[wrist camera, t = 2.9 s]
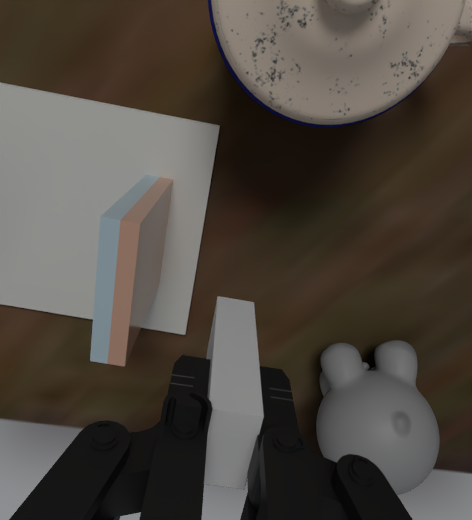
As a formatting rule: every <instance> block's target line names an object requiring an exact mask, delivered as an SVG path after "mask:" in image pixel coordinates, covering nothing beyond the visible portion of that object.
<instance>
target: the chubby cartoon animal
mask: <svg viewBox="0 0 472 520" xmlns="http://www.w3.org/2000/svg"><path fill="white" fill-rule="evenodd" d="M374 359H375V364H376V366H374V367H372V368H371V369H369V368H370V366H369V364H367V363H366V362H362V360H361V356H360V354H359V352H358V350H357V349H356V348H355V347H354V346H352V345H350V344H347V343H335V344H332V345H330V346H329V347H327V348H326V349H325V350H324V351H323V352H322V354H321V359H320V360H321V366H322V370H323V371H322V372H321V374H320V378H319V381H320V388H321V391H322V394H323V396H324V398H323V400H322V402H321V404H320V407H319V410H318V414H317V421H316V431H317V439H318V443H319V447H320V449H321V452H322V454H323V456H324V457H325V458H327V459H330V460H332V461H334V462H337V461H338V460H339V459H340V458H341V457H342V456H344V455H348V454H354V455H360V456H362V457H365V458H367V459H369V460H370V461H371V462H373V463H374V464H376V465H377V467H378V468H379V469H380V470H381V471H382V472H383V474H384V476H385V477H386V479H387V480H388V482H389V483H390V485H391V487H392V488H393V490H394V491H395V493H396V495H400V494H403V493H406V492H408V491H410V490H412V489H414V488H415V487H417V486H418V485H419V484H421V483H422V482H423V481H424V480H425V479H426V477H427V476H428V475H429V474H430V472H431V470H432V469H433V467H434V465H435V462H436V459H437V456H438V451H439V430H438V425H437V421H436V418H435V416H434V413H433V411H432V409H431V407H430V405H429V404H428V402H427V401H426V399H425V398H424V397H423V396H422V395H421V393H420V392H419V391H418V390H417V388H416V376H417V356H416V353H415V350H414V348H413V347H412V346H411V345H410V344H408V343H407V342H404V341H400V340H393V341H387V342H384V343H382V344H380V345H378V346H377V347H376V349H375V352H374Z"/></svg>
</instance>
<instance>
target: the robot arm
mask: <svg viewBox="0 0 472 520" xmlns="http://www.w3.org/2000/svg"><path fill="white" fill-rule="evenodd" d="M247 478H248V493H247V497H246V501H245V504H244V508H243V512H242V516H241V520H412V518H411V517H410V515H409V514H408V512H407V510H406V509H405V507H404V506H403V504H402V502H401V501H400V499H399V498H398V496H397V495H396V493H395V491H394V490H393V488H392V487H391V485H390V483H389V482H388V480H387V479H386V477H385V476H384V474H383V472H382V471H381V470H380V469H379V468H378V467H377V465H376V464H374V463H373V462H371V461H370V460H369V459H367V458H365V457H362V456H360V455H354V454H348V455H344V456H342V457H341V458H340V459H339V460H338V461H337V462H334V461H332V460H330V459H327V458H325V457H322V456H320V455H318V454H316V453H315V452H313V451H312V450H311V449H309V446H308V444H307V441H306V439H305V438H304V437H303V436H302V435H301V434H300V433H299V430H298V424H297V419H296V414H295V408H294V403H293V397H292V392H291V386H290V381H289V379H288V377H287V376H286V375H285V373H284V372H283V371H282V370H281V369H275V368H268V367H262V366H259V356H258V345H257V333H256V322H255V310H254V302H249V301H243V300H237V299H231V298H225V297H219V296H218V297H217V302H216V308H215V313H214V318H213V323H212V329H211V334H210V339H209V344H208V350H207V357H206V359H204V358H197V357H191V356H184V355H182V356H181V357H180V358H179V359H178V360H177V361H176V362H175V363H174V367H173V372H172V377H171V381H170V386H169V390H168V395H167V396H166V398H165V400H164V402H163V408H162V415H161V420H160V421H159V423H158V424H156V425H155V426H154V427H152V428H150V429H147V430H144V431H140V432H132V433H129V432H128V430H127V429H126V428H125V427H124V426H123V425H121V424H119V423H117V422H113V421H98V422H95V423H93V424H90V425H88V426H87V427H85V428H84V429H83V430H82V431H81V432H80V433H79V434H78V436H77V437H76V438H75V439H74V441H73V442H72V443H71V444H70V445H69V447H68V448H67V449H66V450H65V452H64V453H63V454H62V455H61V457H60V458H59V459H58V460H57V462H56V463H55V464H54V465H53V466H52V468H51V469H50V470H49V471H48V473H47V474H46V475H45V476H44V477H43V479H42V480H41V481H40V482H39V484H38V485H37V486H36V487H35V489H34V490H33V491H32V492H31V494H30V495H29V496H28V497H27V498H26V500H25V501H24V502H23V503H22V505H21V506H20V507H19V508H18V510H17V511H16V512H15V513H14V515H13V516H12V517H11V518H10V519H9V520H119V519H120V516H123V515H128V514H133V513H139V512H141V516H140V520H201V516H202V503H203V488H204V484H207V485H214V486H221V487H229V488H236V489H245V485H246V482H247Z"/></svg>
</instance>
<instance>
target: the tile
mask: <svg viewBox="0 0 472 520" xmlns="http://www.w3.org/2000/svg"><path fill="white" fill-rule="evenodd" d="M172 185H173V179H169V178H163V177H158V176H153V175H147V174H146V175H145V176H144V177H143V178H142V179H141V180H140V181H139V182H138V183H137V184H135V185H134V186H133V187H132V188H131V189H130V190H129V191H128V192H127V193H126V194H124V195H123V196H122V197H121V198H120V199H119V200H118V201H117V202H116V203H115V204H114V205H112V206H111V207H110V208H109V209H108V210H107V211H106V212H105V213H104V214H103V215H101V217H100V230H99V244H98V258H97V272H96V286H95V300H94V314H93V328H92V341H91V355H90V361H94V362H100V363H106V364H112V365H119V366H125V365H126V362H127V360H128V358H129V355H130V353H131V351H132V348H133V346H134V343H135V341H136V339H137V336H138V334H139V331H140V329H141V327H142V324H143V322H144V320H145V317H146V315H147V312H148V310H149V308H150V305H151V303H152V300H153V298H154V296H155V293H156V291H157V289H158V286H159V283H160V276H161V268H162V260H163V253H164V245H165V238H166V230H167V223H168V215H169V208H170V200H171V193H172Z"/></svg>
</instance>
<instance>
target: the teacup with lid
mask: <svg viewBox="0 0 472 520" xmlns="http://www.w3.org/2000/svg"><path fill="white" fill-rule="evenodd" d="M208 5H209V13H210V20H211V25H212V29H213V33H214V37H215V40H216V43H217V46H218V49H219V51H220V53H221V56H222V58H223V60H224V62H225V64H226V66H227V67H228V69H229V71H230V72H231V74H232V75H233V77H234V78H235V80H236V81H237V82H238V84H239V85H240V86H241V87H242V89H243V90H244V91H245V92H246V93H247V94H248V95H249V96H250V97H251V98H252V99H253V100H255V101H256V102H257V103H258V104H259V105H261V106H262V107H263V108H265V109H267V110H268V111H270V112H271V113H273V114H275V115H277V116H279V117H281V118H283V119H286V120H288V121H291V122H294V123H297V124H301V125H306V126H312V127H325V128H327V127H341V126H348V125H352V124H356V123H360V122H363V121H366V120H369V119H372V118H374V117H376V116H378V115H380V114H382V113H384V112H386V111H388V110H389V109H391V108H393V107H394V106H396V105H397V104H399V103H400V102H401V101H403V100H404V99H405V98H407V97H408V96H409V95H410V94H411V93H412V92H414V91H415V90H416V89H417V88H418V87H419V86H420V85H421V84H422V83H423V82H424V80H425V79H426V78H427V77H428V76H429V74H430V73H431V72H432V71H433V69H434V68H435V67H436V65H437V64H438V62H439V61H440V59H441V58H442V56H443V55H444V53H445V51H446V50H447V48H448V46H467V45H472V0H208Z"/></svg>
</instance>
